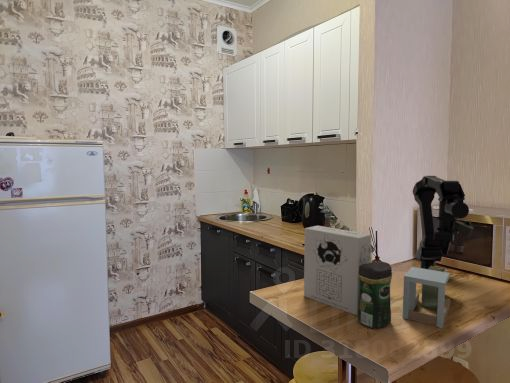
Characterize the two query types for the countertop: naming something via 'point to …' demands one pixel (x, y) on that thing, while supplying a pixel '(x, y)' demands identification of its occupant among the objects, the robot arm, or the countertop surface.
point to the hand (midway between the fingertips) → (445, 254)
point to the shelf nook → (412, 296)
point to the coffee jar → (375, 294)
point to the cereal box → (335, 266)
